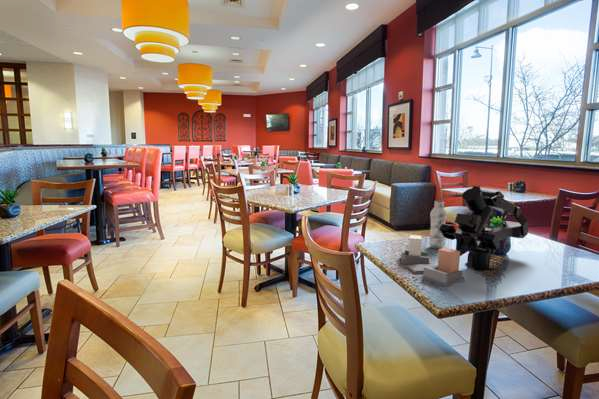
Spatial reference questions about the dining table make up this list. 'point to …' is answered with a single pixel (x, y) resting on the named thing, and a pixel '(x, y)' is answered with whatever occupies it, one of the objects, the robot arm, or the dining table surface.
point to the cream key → (415, 245)
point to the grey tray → (429, 269)
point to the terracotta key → (448, 260)
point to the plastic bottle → (437, 225)
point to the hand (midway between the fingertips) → (456, 256)
